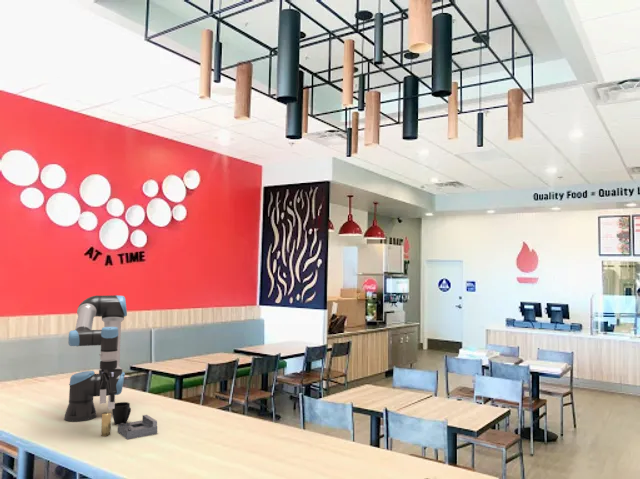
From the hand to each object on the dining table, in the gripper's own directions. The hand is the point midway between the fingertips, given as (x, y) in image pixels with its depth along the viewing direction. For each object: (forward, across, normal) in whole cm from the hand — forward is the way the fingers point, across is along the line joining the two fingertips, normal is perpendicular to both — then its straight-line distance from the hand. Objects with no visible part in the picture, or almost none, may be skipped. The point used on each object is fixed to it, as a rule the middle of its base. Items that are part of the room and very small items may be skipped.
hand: (106, 406), depth 242 cm
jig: (+13, +4, +13) cm, 19 cm away
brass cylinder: (+13, 0, 0) cm, 13 cm away
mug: (+13, -14, +12) cm, 23 cm away
